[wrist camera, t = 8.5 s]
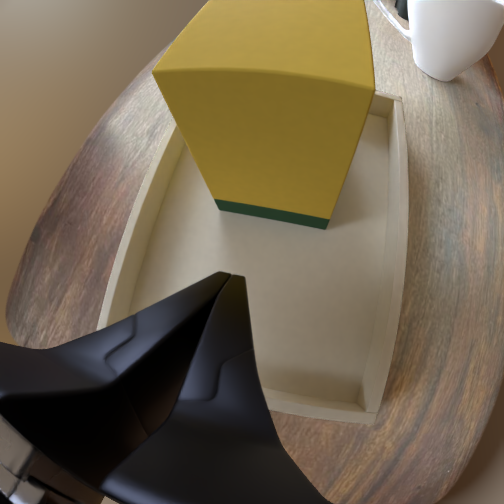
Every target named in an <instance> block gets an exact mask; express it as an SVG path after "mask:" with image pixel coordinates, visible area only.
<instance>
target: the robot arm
mask: <svg viewBox="0 0 504 504" xmlns="http://www.w3.org/2000/svg"><path fill="white" fill-rule="evenodd" d="M104 496H106V497H108V498H110V499H112V500H113V501H115V502H117V503H119V504H333V503H331V502H330V501H328V500H327V499H325V498H324V497H323V496H322V495H321V494H320V493H319V492H318V490H317V489H316V488H315V487H314V486H313V484H312V483H311V482H310V481H309V480H308V479H307V477H306V476H305V475H304V474H303V472H302V471H301V470H300V469H299V467H298V466H297V465H296V464H295V462H294V461H293V460H292V459H291V457H290V456H289V455H288V454H287V452H286V451H285V449H284V448H283V446H282V444H281V442H280V439H279V437H278V435H277V432H276V429H275V427H274V424H273V421H272V418H271V415H270V412H269V409H268V406H267V402H266V399H265V396H264V393H263V390H262V386H261V383H260V379H259V375H258V370H257V364H256V358H255V350H254V343H253V335H252V327H251V318H250V310H249V302H248V293H247V285H246V278H245V276H241V275H236V274H231V273H227V272H223V271H218V272H216V273H214V274H212V275H210V276H208V277H206V278H204V279H202V280H200V281H198V282H196V283H194V284H192V285H190V286H188V287H186V288H184V289H182V290H180V291H178V292H176V293H174V294H172V295H170V296H168V297H166V298H164V299H162V300H160V301H158V302H156V303H154V304H152V305H150V306H149V307H147V308H145V309H143V310H141V311H139V312H137V313H135V315H134V314H133V315H131V316H129V317H127V318H125V319H123V320H120V321H118V322H116V323H114V324H112V325H110V326H108V327H105V328H103V329H100V330H98V331H96V332H93V333H91V334H88V335H85V336H83V337H80V338H78V339H75V340H72V341H70V342H67V343H65V344H62V345H59V346H56V347H53V348H49V349H31V348H26V347H21V346H16V345H11V344H7V343H3V342H0V504H101V502H102V500H103V498H104Z"/></svg>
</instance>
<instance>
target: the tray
mask: <svg viewBox="0 0 504 504" xmlns="http://www.w3.org/2000/svg"><path fill="white" fill-rule="evenodd" d="M408 222H409V176H408V154H407V140H406V129H405V119H404V111H403V103H402V97H400V96H397V95H393V94H390V93H386V92H383V91H379V90H375V93H374V97H373V100H372V103H371V106H370V109H369V112H368V116H367V119H366V122H365V125H364V128H363V131H362V134H361V137H360V140H359V143H358V145H357V148H356V151H355V154H354V157H353V160H352V163H351V165H350V168H349V171H348V174H347V176H346V179H345V182H344V184H343V187H342V190H341V192H340V195H339V198H338V200H337V203H336V206H335V208H334V211H333V213H332V216H331V218H330V221H329V223H328V226H327V228H326V230H323V229H318V228H313V227H308V226H303V225H298V224H292V223H287V222H282V221H277V220H271V219H266V218H260V217H255V216H249V215H243V214H238V213H232V212H226V211H220V210H219V209H218V207H217V205H216V203H215V201H214V198H213V197H212V195H211V193H210V191H209V189H208V187H207V185H206V183H205V181H204V179H203V177H202V175H201V173H200V171H199V169H198V167H197V165H196V163H195V161H194V159H193V157H192V155H191V152H190V150H189V148H188V146H187V144H186V142H185V140H184V138H183V136H182V134H181V132H180V130H179V128H178V126H177V124H176V122H175V120H174V118H173V117H172V119H171V121H170V123H169V125H168V127H167V129H166V131H165V133H164V135H163V138H162V140H161V142H160V144H159V146H158V148H157V150H156V153H155V155H154V157H153V159H152V162H151V164H150V166H149V169H148V171H147V173H146V176H145V178H144V181H143V183H142V186H141V188H140V191H139V193H138V196H137V198H136V201H135V203H134V206H133V209H132V211H131V214H130V217H129V220H128V222H127V225H126V228H125V231H124V234H123V237H122V240H121V243H120V246H119V249H118V252H117V256H116V259H115V262H114V265H113V269H112V272H111V276H110V279H109V283H108V286H107V290H106V294H105V298H104V302H103V306H102V310H101V314H100V318H99V322H98V327H97V331H98V330H100V329H103V328H105V327H108V326H110V325H112V324H114V323H116V322H118V321H120V320H123V319H125V318H127V317H129V316H131V315H133V314H134V315H135V313H137V312H139V311H141V310H143V309H145V308H147V307H149V306H150V305H152V304H154V303H156V302H158V301H160V300H162V299H164V298H166V297H168V296H170V295H172V294H174V293H176V292H178V291H180V290H182V289H184V288H186V287H188V286H190V285H192V284H194V283H196V282H198V281H200V280H202V279H204V278H206V277H208V276H210V275H212V274H214V273H216V272H218V271H223V272H227V273H231V274H236V275H241V276H245V278H246V285H247V293H248V302H249V310H250V318H251V327H252V335H253V343H254V350H255V358H256V364H257V370H258V375H259V379H260V383H261V386H262V390H263V393H264V396H265V399H266V402H267V406H268V409H269V410H272V411H277V412H282V413H287V414H293V415H298V416H304V417H310V418H317V419H324V420H331V421H340V422H349V423H359V424H372V425H373V424H375V420H376V417H377V413H378V411H379V408H380V404H381V401H382V397H383V393H384V390H385V386H386V382H387V378H388V374H389V369H390V365H391V361H392V356H393V351H394V346H395V341H396V336H397V330H398V324H399V318H400V311H401V305H402V297H403V289H404V280H405V270H406V259H407V244H408Z"/></svg>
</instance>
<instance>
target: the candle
mask: <svg viewBox="0 0 504 504" xmlns="http://www.w3.org/2000/svg"><path fill="white" fill-rule="evenodd" d="M395 8H397V10H398V15H399V16H400V17H402V18H404V19H406V20H409V17H408V0H396V2H395Z"/></svg>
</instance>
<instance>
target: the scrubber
mask: <svg viewBox="0 0 504 504" xmlns="http://www.w3.org/2000/svg"><path fill="white" fill-rule="evenodd" d="M152 74H153V76H154V78H155V81H156V83H157V85H158V87H159V89H160V91H161V93H162V95H163V97H164V99H165V101H166V103H167V105H168V107H169V110H170V112H171V114H172V116H173V118H174V120H175V122H176V124H177V126H178V128H179V130H180V132H181V134H182V136H183V138H184V140H185V142H186V144H187V146H188V148H189V150H190V152H191V155H192V157H193V159H194V161H195V163H196V165H197V167H198V169H199V171H200V173H201V175H202V177H203V179H204V181H205V183H206V185H207V187H208V189H209V191H210V193H211V195H212V197H213V198H214V201H215V203H216V205H217V207H218V209H219V210H220V211H226V212H232V213H238V214H243V215H249V216H255V217H260V218H266V219H271V220H277V221H282V222H287V223H292V224H298V225H303V226H308V227H313V228H318V229H323V230H326V228H327V226H328V223H329V221H330V218H331V216H332V213H333V211H334V208H335V206H336V203H337V200H338V198H339V195H340V192H341V190H342V187H343V184H344V182H345V179H346V176H347V174H348V171H349V168H350V165H351V163H352V160H353V157H354V154H355V151H356V148H357V145H358V143H359V140H360V137H361V134H362V131H363V128H364V125H365V122H366V119H367V116H368V112H369V109H370V106H371V103H372V100H373V97H374V93H375V90H376V89H375V76H374V65H373V55H372V47H371V39H370V32H369V25H368V19H367V13H366V7H365V2H364V0H209V1H208V2H207V3H206V4H205V6H204V7H203V8H202V9H201V10H200V11H199V12H198V13H197V14H196V15H195V17H194V18H193V19H192V20H191V21H190V22H189V24H188V25H187V26H186V27H185V28H184V30H183V31H182V32H181V33H180V34H179V36H178V37H177V38H176V39H175V41H174V42H173V43H172V45H171V46H170V47H169V48H168V50H167V51H166V52H165V54H164V55H163V56H162V58H161V59H160V61H159V62H158V63H157V65H156V66H155V68H154V69H153V70H152Z"/></svg>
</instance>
